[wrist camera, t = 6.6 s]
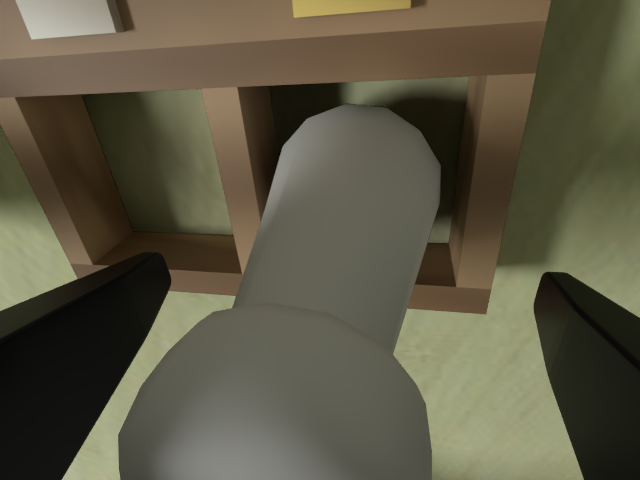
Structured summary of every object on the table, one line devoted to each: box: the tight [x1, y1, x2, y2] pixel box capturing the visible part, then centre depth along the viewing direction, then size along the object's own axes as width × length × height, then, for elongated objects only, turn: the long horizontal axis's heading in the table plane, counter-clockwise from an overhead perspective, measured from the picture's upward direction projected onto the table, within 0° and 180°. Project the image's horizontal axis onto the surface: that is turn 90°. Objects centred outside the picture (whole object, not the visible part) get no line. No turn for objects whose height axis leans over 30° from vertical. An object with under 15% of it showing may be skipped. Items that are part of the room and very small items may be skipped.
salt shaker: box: [118, 104, 441, 480], centre depth 10 cm, size 6×6×13 cm
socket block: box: [0, 0, 551, 314], centre depth 14 cm, size 14×18×3 cm
